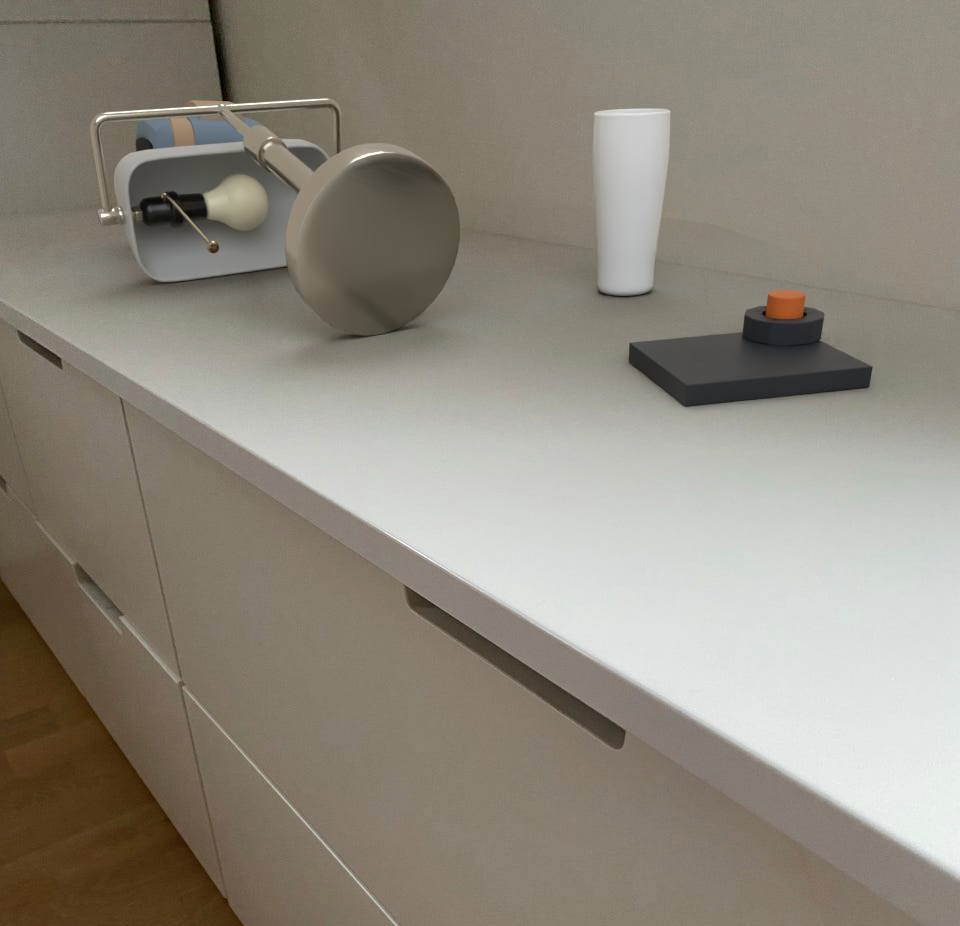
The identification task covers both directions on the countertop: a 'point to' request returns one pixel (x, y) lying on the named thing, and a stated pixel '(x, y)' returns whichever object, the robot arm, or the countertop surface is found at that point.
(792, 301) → the button
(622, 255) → the drinking glass
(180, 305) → the countertop surface
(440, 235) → the lamp
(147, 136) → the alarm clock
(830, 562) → the countertop surface
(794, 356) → the scale
